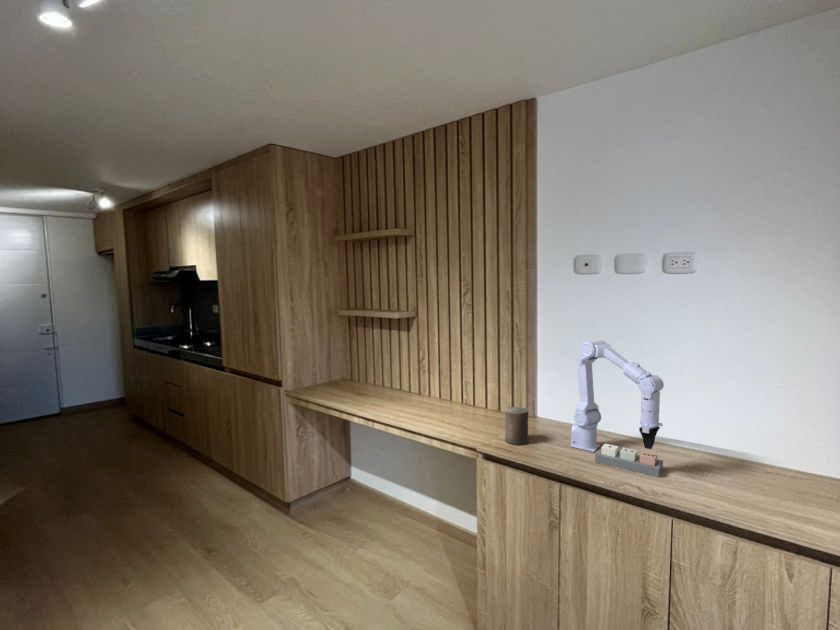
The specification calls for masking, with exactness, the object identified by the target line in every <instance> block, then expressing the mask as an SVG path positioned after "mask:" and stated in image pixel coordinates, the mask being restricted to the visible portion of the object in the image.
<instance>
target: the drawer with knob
mask: <svg viewBox="0 0 840 630" xmlns="http://www.w3.org/2000/svg"><path fill="white" fill-rule="evenodd" d="M601 448H602V449H601ZM601 448H600V449H601V454H603V455H607V456H612V457H616V456H617V455H618V451H619V445H614V444H608V443H604V444H603V445H602V446H601Z"/></svg>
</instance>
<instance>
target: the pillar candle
mask: <svg viewBox="0 0 840 630" xmlns="http://www.w3.org/2000/svg"><path fill="white" fill-rule="evenodd" d="M504 410H505V411H504V441H505V442H506V443H507V444H509V445H513V446H524V445H527V444H528V443H529V409H527V408H525V407H521V406H509V407H506V408H505V409H504Z"/></svg>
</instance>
